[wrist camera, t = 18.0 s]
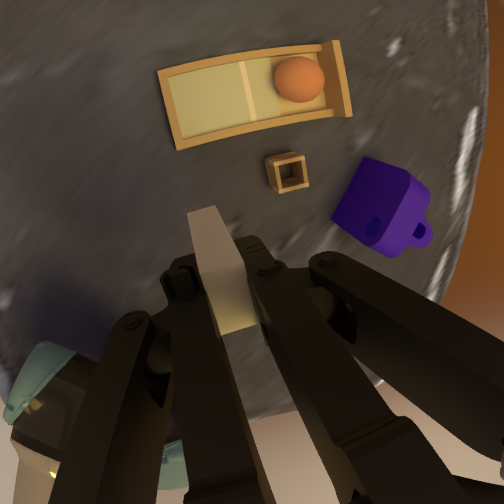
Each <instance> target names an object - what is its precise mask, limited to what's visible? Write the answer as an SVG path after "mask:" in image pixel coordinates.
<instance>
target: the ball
mask: <svg viewBox="0 0 504 504" xmlns="http://www.w3.org/2000/svg"><path fill="white" fill-rule="evenodd" d="M275 85H276V88H277V90H278V91H279V93H280V94H281V95H282V96H283V97H284V98H286V99H288V100H290V101H292V102H297V103H305V102H309V101H311V100H313V99H315V98H316V97H317V96H318V95H319V94H320V93H321V91H322V89H323V87H324V74H323V71H322V69H321V68H320V66H319V65H318V64H317V63H316V62H315V61H313V60H311V59H309V58H307V57H303V56H294V57H290V58H288V59H286V60H284V61H283V62H282V63H281V64H280V65H279V66H278V68H277V70H276V72H275Z"/></svg>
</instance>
